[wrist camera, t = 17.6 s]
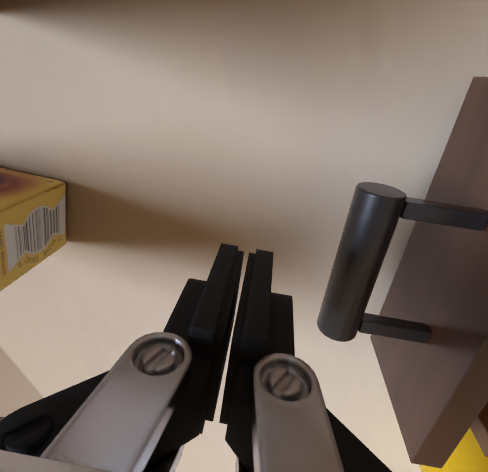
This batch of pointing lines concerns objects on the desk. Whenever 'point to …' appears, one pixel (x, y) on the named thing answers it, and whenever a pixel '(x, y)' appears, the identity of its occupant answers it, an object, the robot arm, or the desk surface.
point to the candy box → (29, 222)
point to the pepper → (463, 457)
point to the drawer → (425, 292)
